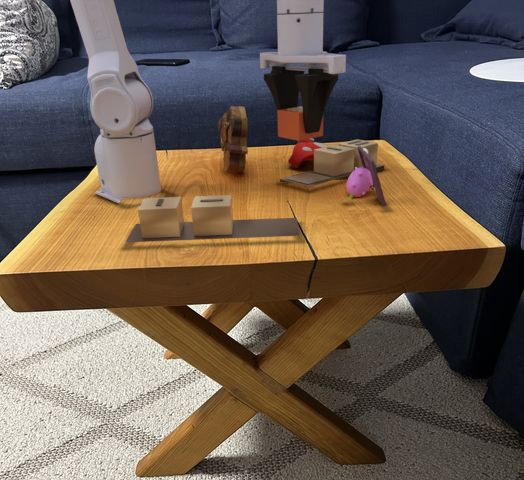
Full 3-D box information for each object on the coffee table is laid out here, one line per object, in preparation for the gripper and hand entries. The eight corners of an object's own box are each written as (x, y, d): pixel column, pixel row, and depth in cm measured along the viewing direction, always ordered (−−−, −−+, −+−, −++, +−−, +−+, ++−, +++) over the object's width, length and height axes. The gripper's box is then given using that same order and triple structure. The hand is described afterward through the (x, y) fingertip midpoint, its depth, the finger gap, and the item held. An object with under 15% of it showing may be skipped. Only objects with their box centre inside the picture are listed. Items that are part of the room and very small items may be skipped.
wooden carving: (213, 161, 100) (208, 100, 94) (238, 159, 100) (234, 98, 95) (229, 184, 86) (225, 115, 81) (258, 181, 87) (255, 112, 81)
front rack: (126, 248, 64) (119, 212, 62) (136, 229, 69) (130, 195, 67) (300, 242, 64) (300, 204, 62) (296, 223, 69) (296, 188, 67)
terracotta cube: (298, 140, 74) (298, 112, 72) (277, 136, 77) (277, 109, 75) (323, 135, 76) (323, 108, 74) (301, 131, 79) (301, 105, 77)
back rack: (309, 192, 81) (309, 161, 79) (279, 184, 85) (278, 155, 83) (384, 170, 90) (386, 142, 88) (354, 163, 94) (355, 137, 92)
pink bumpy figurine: (379, 158, 68) (364, 143, 76) (339, 174, 69) (328, 158, 77) (393, 208, 72) (377, 189, 80) (354, 223, 73) (343, 202, 80)
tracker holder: (357, 155, 94) (320, 151, 87) (347, 181, 96) (310, 178, 89) (307, 130, 100) (269, 124, 93) (299, 154, 103) (261, 150, 96)
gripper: (366, 10, 66) (359, 132, 73) (287, 13, 76) (288, 120, 83) (322, 13, 62) (320, 140, 69) (245, 15, 72) (250, 126, 79)
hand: (300, 130), depth 76 cm, fingers closed on terracotta cube, 4 cm apart
